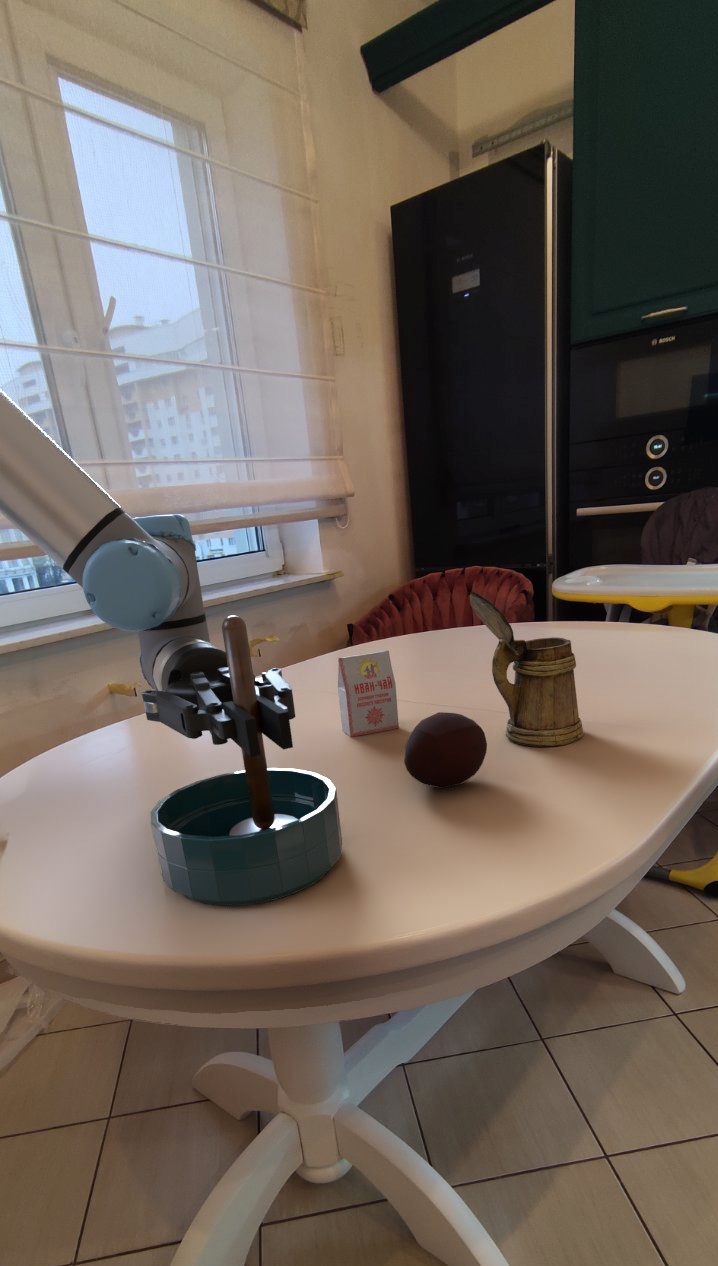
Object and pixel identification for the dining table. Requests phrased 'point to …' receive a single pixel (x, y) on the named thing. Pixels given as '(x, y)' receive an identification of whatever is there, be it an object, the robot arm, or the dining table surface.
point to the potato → (445, 750)
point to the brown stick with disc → (247, 701)
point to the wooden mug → (533, 682)
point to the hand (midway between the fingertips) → (269, 734)
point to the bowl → (246, 838)
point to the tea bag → (367, 694)
